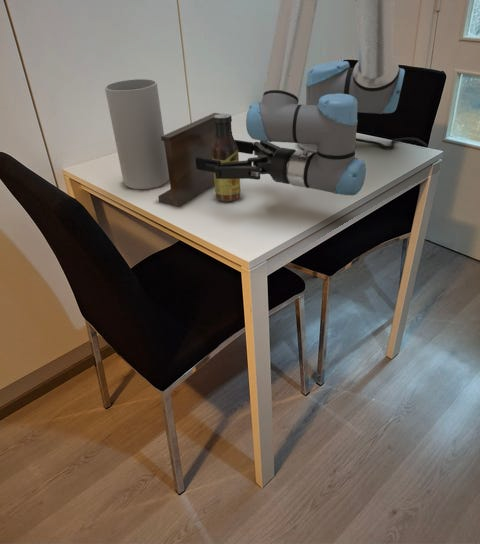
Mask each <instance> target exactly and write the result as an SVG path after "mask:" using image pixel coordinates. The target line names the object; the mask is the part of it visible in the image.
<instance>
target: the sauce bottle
mask: <svg viewBox="0 0 480 544" xmlns="http://www.w3.org/2000/svg"><path fill="white" fill-rule="evenodd" d="M232 122H233V119H232V114H230V113H220V114H218V115H215V116H214V123H215V130H216V132H215V134H216V137H215V140H214V141H213V144H212V155H213V156H212V160H219V161H221V163H226V162H236V161H240V158H239V152H238V147H237V145H236V143H235V140H236V139H235V138H234V135H233V131H232V129H233V128H232ZM214 192H215V197H216V199H217V200H218V201H219V202H233V201H236V200H238V199H239V198H241V179H216V175H215V173H214Z"/></svg>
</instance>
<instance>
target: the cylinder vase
mask: <svg viewBox="0 0 480 544" xmlns="http://www.w3.org/2000/svg"><path fill="white" fill-rule="evenodd" d="M104 90H105V95H106V101H107V105H108V111H109V115H110V116H109V117H110V122H111V125H112V131H113V135H114V141H115V145H116V152H117V156H118V161H119V166H120V167H119V168H120V171H121V176H122V177H121V178H122V181H123V184H124V185H125V186H126V187H128V188H129V189H133V190H150V189H155V188H158V187H161V186H164V185H165V184H167V182H168V181H170V180H169V173H168V166H167V159H166V152H165V145H164V141H162V140H161V136H163V135H165V131H164V125H163V124H164V123H163V118H162V117H163V116H162V111H161V104H160V96H159V89H158V83H157V81H156V80H154V79H149V78H147V79H146V78H136V79H135V78H134V79H124V80H119V81H115V82H111V83H108V84H107V85H104Z"/></svg>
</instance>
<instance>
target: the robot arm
mask: <svg viewBox="0 0 480 544" xmlns="http://www.w3.org/2000/svg"><path fill="white" fill-rule="evenodd" d="M395 2H396V1H395V0H355V19H356V20H355V21H356V39H357V40H356V41H357V62H356V64H355V65H354V67H351V65H350V62H349V61H347V60H337V61H329V62H323V63H320V64H316V65H313V66H312V67H310V68H309V69H308V70H307V73H306V84H305V88H306V89H305V104H299V101H300V95H301V91H302V90H301V89H302V84H303V79H304V74H305V69H306V65H307V58H308V53H309V47H310V42H311V36H312V32H313V26H314V21H315V15H316V10H317V5H318V0H280V2H279V6H278V7H279V8H278V13H277V17H276V24H275V29H274V33H273V34H274V35H273V39H272V44H271V49H270V54H269V59H268V60H269V61H268V65H267V66H268V67H267V71H266V77H265V83H264V88H263V92H262V98H261V101H258V102H253V103H251V104H250V105H249V107H248V110H247V112H246V117H245V119H246V120H245V127H246V132H247V135H248V136H249V137H250V138H251V140H255V142H252V141H245V140H238V139H234V140H235V143H236V145H237V147H238V153H242V154H248V155H253V154H254V157H249V158H248V159H247V160H239V161H236V162H226V163H221V161H219V160H212V159H207V158H201V157H196V158H195V159H196V168H197V169H198V170H203V171H208V172H213V173H215V175H216V179H240V180H243V179H244V180H245V179H246V180H247V179H249V180H257V181H258V180H259V181H260V179H261V175H269V176H270V177H271V179H272V180H273V181H274V182H275V183H280V184H285V185H291V186H293V187H294V186H295V187H298V188H299V187H300V188H304V189H313V190H317V191H322V192H327V193H331V194H334V195H343V196H355V195H357V194H358V193H359V192H361V190H362V188H363V187H364V183H365V180H366V176H367V168H366V162H365V161H364V160H363V159H360V158H358V157H356V152H355V150H356V142H360V143H366V144H372V145H376V146H380V147H381V148H383V149H392V148H394V147H395V143H396V142H404V141H414V142H418V143H420V144H421V145H423V146H424V147H425V148H429V145H428V144H427V143H426V142H425V141H424V140H421V139H420V138H416V137H399V138H394V139H392V140H391V143H390V145H385V144H384V143H381V142H378V141H374V140H368V139H362V138H357V128H358V122H359V120H358V113H362V114H363V113H364V114H379V115H383V114H392V113H394V112H395V111H396V110H397V107H398V104H399V100H400V95H401V92H402V91H401V90H402V86H403V82H404V78H405V77H404V76H405V73H406V70H405V69H404V68H401V67H399V62H398V61H397V59H396V58H395V57H394V38H395V37H394V35H395V34H394V33H395V6H396V5H395ZM272 142H273V143H272ZM274 143H287V144H288V143H289V144H290V143H291V144H298V145H299V147H300V148H301V149H302V150H296V149H294V148H288V147H280V146H279V145H276V144H274ZM255 156H256V157H255Z"/></svg>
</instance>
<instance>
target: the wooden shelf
mask: <svg viewBox="0 0 480 544" xmlns="http://www.w3.org/2000/svg"><path fill="white" fill-rule="evenodd" d="M218 114H221V113H218V112H213V113H210V114H209V115H206V116H203V117H202V118H199V119H197V120H195V121H193V122H191V123H188V124H186V125H184V126H181V127H179V128H177V129H175V130H173V131H170V132H168V133H166V134H164V135H163V136H161V140H162V141H164V145H165V152H166V159H167V166H168V173H169V180H168V181H169V187H170V189H167V191H164V192H163V193H161V194H159V195H158V196H157V197H158V202H159V203H163V204H166V205H170V206H173V207H177V208H180V207H182V206H184V205H185V204H186V203H188V202H190V201H192V200H193V199H194V198H196V197H198V196H199V195H201V194H203V193H205V192H206V191H208V190H209V189H211V188H212V187H215V185H214V173H213V172H208V171H203V170H198V169H197V168H196V159H195V158H196V157H201V158H207V159H212V156H213V155H212V144H213V141H214V140H215V137H216V134H215V132H216V130H215V123H214V116H215V115H218Z"/></svg>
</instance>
